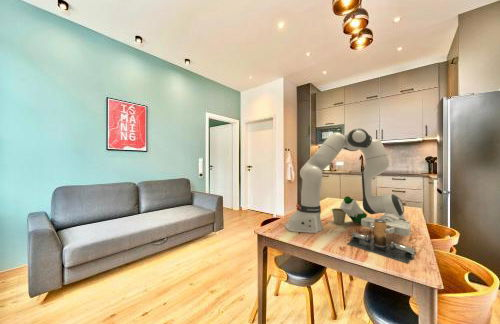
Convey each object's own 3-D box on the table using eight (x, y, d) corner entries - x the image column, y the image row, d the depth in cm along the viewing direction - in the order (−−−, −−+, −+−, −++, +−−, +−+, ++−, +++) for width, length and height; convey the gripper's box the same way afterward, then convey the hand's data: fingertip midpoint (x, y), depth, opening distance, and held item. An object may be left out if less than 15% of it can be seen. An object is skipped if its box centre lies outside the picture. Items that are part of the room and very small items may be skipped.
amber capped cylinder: (378, 248, 90) (377, 222, 90) (370, 243, 95) (370, 218, 95) (389, 248, 90) (389, 222, 90) (381, 243, 95) (381, 218, 95)
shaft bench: (346, 244, 98) (346, 234, 98) (357, 236, 107) (357, 227, 107) (409, 264, 79) (409, 252, 78) (417, 253, 87) (417, 242, 87)
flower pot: (344, 221, 135) (344, 208, 135) (349, 225, 125) (349, 212, 125) (329, 220, 136) (329, 208, 136) (334, 225, 127) (334, 211, 126)
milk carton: (369, 214, 129) (355, 197, 121) (364, 226, 126) (349, 209, 118) (356, 211, 136) (342, 194, 129) (351, 222, 133) (336, 206, 126)
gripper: (366, 213, 109) (356, 218, 100) (413, 221, 93) (406, 228, 84) (366, 224, 109) (356, 230, 100) (413, 234, 93) (406, 243, 84)
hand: (379, 229), depth 92 cm, fingers closed on amber capped cylinder, 5 cm apart
